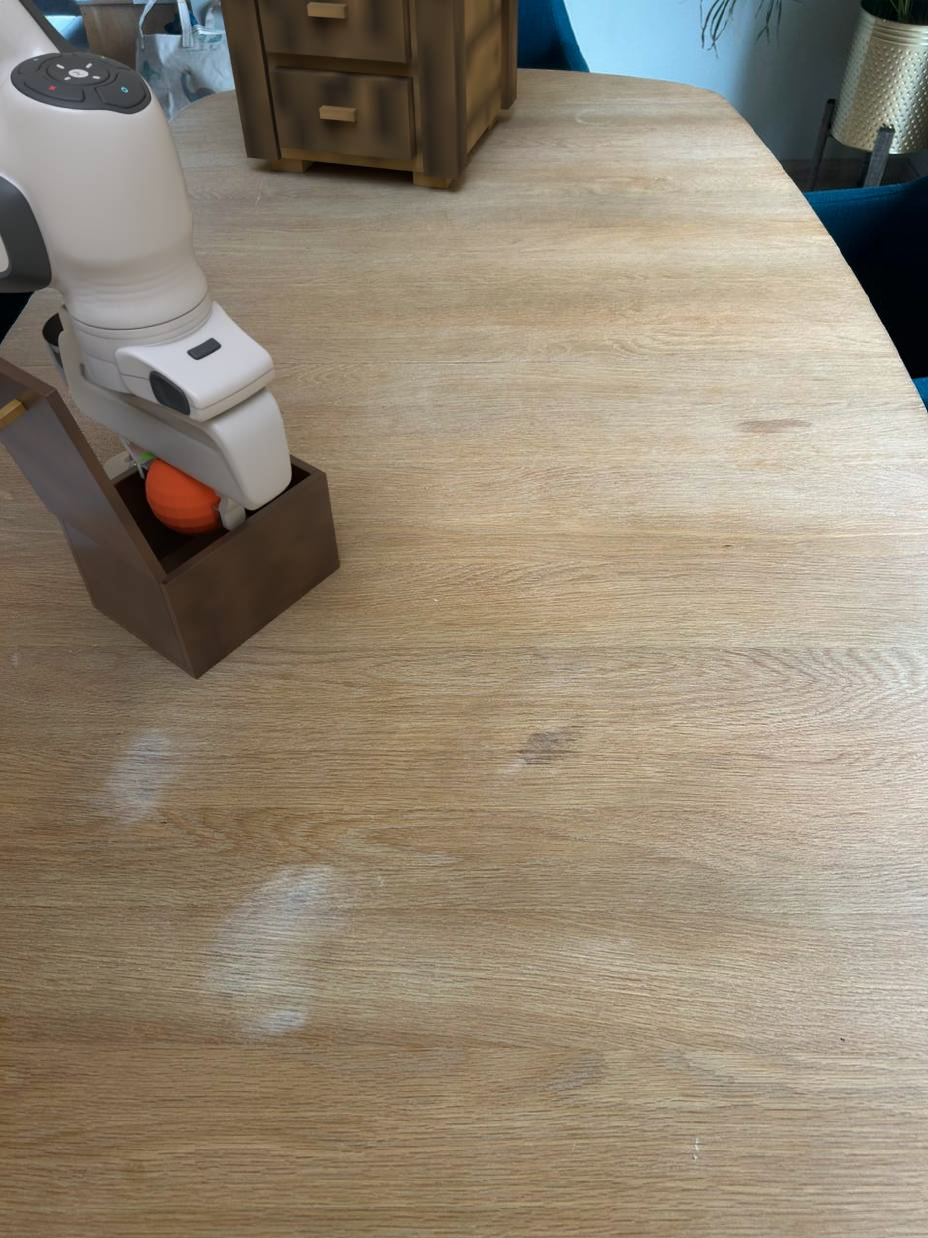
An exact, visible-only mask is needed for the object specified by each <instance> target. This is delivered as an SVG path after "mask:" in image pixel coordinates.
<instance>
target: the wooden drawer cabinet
mask: <svg viewBox="0 0 928 1238" xmlns="http://www.w3.org/2000/svg"><path fill="white" fill-rule="evenodd" d="M219 3H220V4H219V5H220V9H221V15H222V20H223V26H224V32H225V37H226V43H227V49H228V50H227V51H228V55H229V61H230V67H231V71H232V78H233V84H234V90H235V96H236V101H237V108H238V112H239V119H240V125H241V130H242V136H243V141H244V147H245V148H244V149H245V154H246V158H247V159H258V160H264V161H265V160H267V161H270V163H271V170H272V171H281V172H290V173H297V174H298V173H300V174H303V173H305V172H306V171H307V170H308V168H310V167H311V166H312V165H313V164H314V163H315V162H321V163H328V164H329V163H331V164H341V165H347V166H348V165H349V166H357V167H360V166H361V167H369V168H376V169H377V168H378V169H388V170H398V171H407V172H412V181H413V186H420V187H430V188H439V189H447V188H448V187H449V186H450V184H451V183H452V182H453V180H454V181H455V180H459V178H460V177H461V175H462V174H463V173H464V171H465V170H466V169H467V167H468V154H469V153H470V151H471V150H472V149H473V147H474V146H475V144H476V143H477V142H478V141H479V139H480V138H481V137H482V135H483V134H484V133H485V131H488V132H489V131H491V128H492V127H493V126H494V125H495V123H496V122H497V121H498V114H499V112H500V111H501V110H505V111H506V110H507V111H508V110H510V109H511V107H512V106H513V105H514V103H515V102H516V100H517V97H518V96H517V92H518V91H517V89H518V88H517V87H518V85H517V84H518V34H519V33H518V31H519V30H518V26H519V0H219Z"/></svg>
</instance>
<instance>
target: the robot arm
mask: <svg viewBox="0 0 928 1238" xmlns="http://www.w3.org/2000/svg"><path fill="white" fill-rule="evenodd" d="M189 194H190V193H189V191H188V186H187V181H186V177H185V174H184V169H183V166H182V162H181V159H180V155H179V152H178V148H177V145H176V141H175V138H174V135H173V132H172V130H171V127H170V124H169V121H168V118H167V115H166V114H165V111H164V109H163V107H162V105H161V103H160V101H159V99H158V97H157V96H156V94H155V92H154V91H153V89H152V88H151V86H150V84H149V83H148V82H147V80H146V79H145V77H143V76H142V75H141V74H140V73H139V72H138V71H137V70H136V69H133V68H132V67H130V66H128V65H126V64H124V63H122V62H120V61H118V60H116V59H114V58H110V57H107V56H104V55H101V54H95V53H92V52H91V53H90V52H83V51H80V50H78V49H77V48H76V47H75V46H74V45H72V43H70V41H68V39H66V38H65V36H64V35H62V34H61V32H59V30H57V28H56V27H55V26H54V24H52V23H51V22H50V20H49V19H48V18H47V17H46V16H45V15H44V13H42V11H41V10H40V9H39V8H38V6H37V5H36V4H35V3H34V1H33V0H0V294H1V293H3V294H8V293H10V294H13V293H15V294H16V293H17V294H18V293H19V294H20V293H30V292H37V291H41V290H43V289H46V288H51V289H54V290H56V291H58V292H59V293H60V294H61V295H62V297H63V301H61V304H60V307H59V308H58V311H57V313H58V312H59V317H60V320H61V323H62V326H63V329H64V331H62V332H61V333H60V335H59V339H58V343H59V350H60V355H61V360H62V364H63V368H64V372H65V376H66V379H67V383H68V386H69V389H68V390H69V392H70V396H71V398H72V401H73V403H74V404H75V405H76V407H77V408H78V410H79V411H80V412H81V414H82V415H84V416H85V417H86V418H89V419H90V420H92V421H94V422H96V423H98V424H99V425H101V426H103V427H105V428H106V429H108V430H110V431H111V432H113V433H115V434H117V436H118V438H119V441H120V442H121V444H122V445H123V447H124V448H125V449H126V451H128V452H129V454H130V455H131V456H132V458H133V459H134V461H135V462H136V463H137V461H138V460H139V459H140V458H141V457H142V455H144V454H145V453H147V452H149V453H151V454H153V455H155V456H156V457H149V458H145V459H142V460H140V461H139V462H138V463H137V467H138V470H139V473H140V476H141V478H142V479H144V480H146V479H147V474H148V471H149V469H150V467H151V465H152V464H153V462H154V461H155V459H156V458H157V457H158V458H160V459H162V460H163V461H165V462H167V463H168V464H170V465H172V466H174V467H175V468H177V469H179V470H181V471H182V472H184V473H186V474H187V475H189V476H191V477H193V478H194V479H196V480H198V481H200V482H201V483H203V484H205V485H207V486H208V487H210V488H212V489H214V491H215V494H216V495H217V496H219V497H221V501H219V502H217V503H215V504H214V505H212V506H211V508H212V512H213V514H214V516H215V517H214V520H215V521H216V522H217V523H218V524H220V525H222V526H223V527H225V528H226V529H228V530H232V529H234V528H235V527H237V526H238V525H240V524H241V523H242V522H244V521H245V519H246V514H245V510H244V508H246V509H248V510H255V509H258V508H259V507H261V506H263V505H264V504H266V503H267V502H269V501H270V500H272V499H273V498H275V497H276V496H277V495H279V494H280V493H281V492H282V491H284V490H285V488H286V487H287V486H288V484H289V483H290V481H291V463H290V456H289V454H290V451H289V444H288V439H287V434H286V433H287V432H286V428H285V425H284V421H283V416H282V413H281V409H280V407H279V405H278V402H277V400H276V398H275V397H274V396H273V394H272V392H271V391H270V389H268V388H267V385H269V383H271V382H272V381H273V380H274V379H275V376H276V370H275V365H274V361H273V357H272V356H271V355H270V353H269V351H267V350H266V348H265V347H263V346H262V345H261V344H260V343H258V342H257V341H256V340H255V339H253V338H252V337H251V336H250V335H249V334H248V333H246V332H245V331H244V330H243V329H242V328H241V327H240V326H239V325H238V324H237V323H236V322H235V321H234V320H233V319H232V318H231V317H230V316H229V315H228V313H227V312H226V311H225V309H224V308H223V307H222V305H221V304H219V302H217V301H216V300H214V299H212V297H211V291H210V287H209V283H208V278H207V276H206V274H205V271H204V269H203V267H202V265H201V263H200V261H199V260H198V258H197V255H196V253H195V247H194V227H195V220H194V213H193V209H192V205H191V197H190V195H189Z"/></svg>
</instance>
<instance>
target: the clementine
mask: <svg viewBox="0 0 928 1238" xmlns="http://www.w3.org/2000/svg"><path fill="white" fill-rule="evenodd" d="M149 457H156V456H155V455H153V454H151V453H149V452H147V453H145V454H144V455H142V457H141V458H140V459H139V460H138V461H137V463H138V462H139V461H140V460H142V459H145V458H149ZM137 463H136V464H135V468H134V472H135V469H136V465H137ZM146 496H147V501H148V503H149V505H150V507H151V509H152V511H153V513H154V515H155V516H156V517H157V518H158V519H159V520H160V521H161V522H162V523H163V524H164V525H165V526H166V527H168V528H170V529H172V530H174V531H177V532H179V533H181V534H186V535H203V534H208V533H211V532H214V531H216V530H218V529H220V528H222V527H223V526H222V525H220V524H218V523H217V522H216V521H215V520H214V517H215V516H214V514H213V512H212V508H211V506H212V505H214V504H215V503H217V502H219V501H221V497H219V496H217V495H216V494H215V491H214V489H212V488H210V487H208V486H207V485H205V484H203V483H201V482H200V481H198V480H196V479H194V478H193V477H191V476H189V475H187V474H186V473H184V472H182V471H181V470H179V469H177V468H175V467H174V466H172V465H170V464H168V463H167V462H165V461H163V460H162V459H160V458H158V457H157V458H156V459H155V461H154V462H153V464H152V465H151V467H150V469H149V471H148V474H147V479H146Z"/></svg>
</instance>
